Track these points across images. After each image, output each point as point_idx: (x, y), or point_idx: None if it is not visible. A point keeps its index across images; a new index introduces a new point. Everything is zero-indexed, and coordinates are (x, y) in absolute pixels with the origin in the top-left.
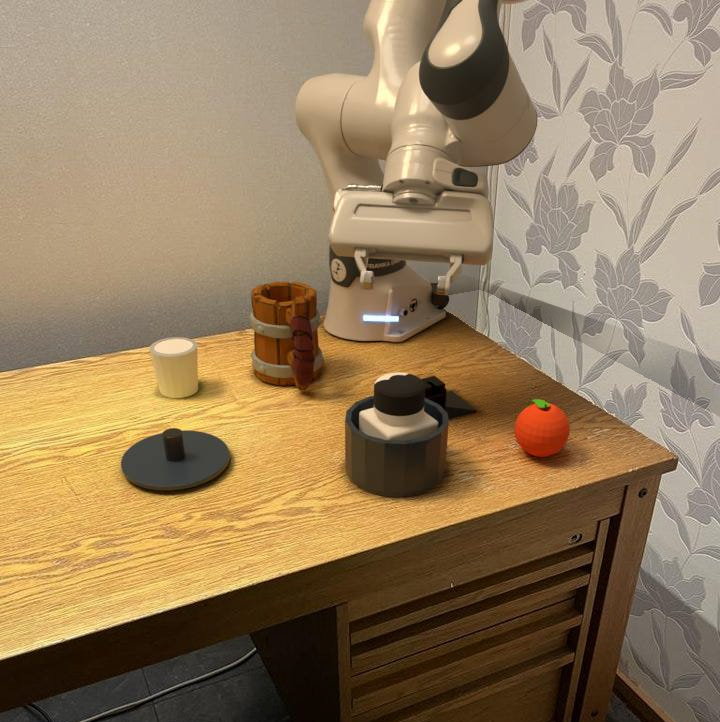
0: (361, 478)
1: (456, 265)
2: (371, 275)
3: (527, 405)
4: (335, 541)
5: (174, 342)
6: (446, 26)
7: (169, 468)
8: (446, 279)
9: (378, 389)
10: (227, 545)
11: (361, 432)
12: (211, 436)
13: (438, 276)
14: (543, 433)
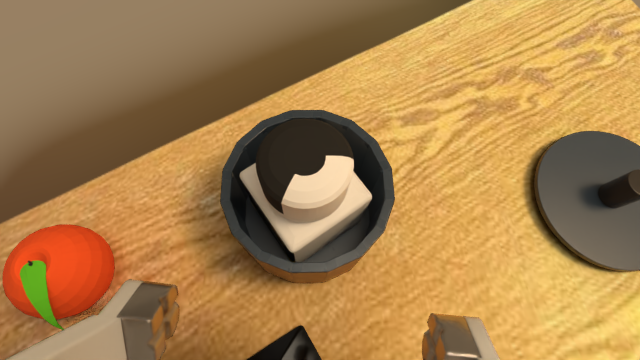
0: None
1: (37, 353)
2: (445, 338)
3: (60, 328)
4: (365, 73)
5: None
6: None
7: (603, 168)
8: (122, 305)
9: (343, 137)
10: (472, 61)
11: (360, 134)
12: (590, 254)
13: (152, 317)
14: (66, 225)
